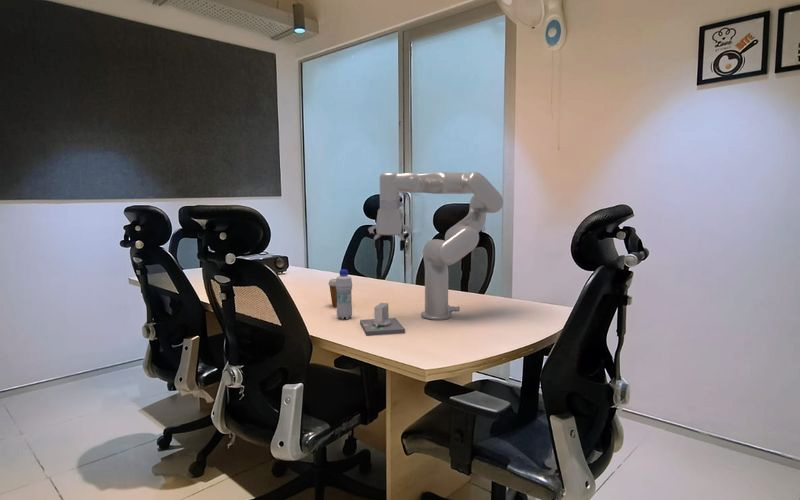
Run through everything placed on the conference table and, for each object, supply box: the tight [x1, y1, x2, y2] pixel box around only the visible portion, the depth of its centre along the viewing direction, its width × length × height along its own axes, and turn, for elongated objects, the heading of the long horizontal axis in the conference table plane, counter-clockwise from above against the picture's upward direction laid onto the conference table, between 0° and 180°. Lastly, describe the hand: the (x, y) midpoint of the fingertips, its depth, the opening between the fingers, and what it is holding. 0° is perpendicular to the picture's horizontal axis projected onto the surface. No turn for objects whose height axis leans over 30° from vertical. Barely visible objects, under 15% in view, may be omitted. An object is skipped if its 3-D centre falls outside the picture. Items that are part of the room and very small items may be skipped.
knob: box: [372, 302, 391, 327], centre depth 177 cm, size 7×10×7 cm, turn 165°
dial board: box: [359, 317, 406, 336], centre depth 179 cm, size 14×17×2 cm
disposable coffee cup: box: [328, 278, 337, 309], centre depth 215 cm, size 10×10×12 cm
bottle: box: [335, 268, 353, 320], centre depth 194 cm, size 7×7×20 cm
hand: (389, 250), depth 185 cm, fingers open, 9 cm apart
